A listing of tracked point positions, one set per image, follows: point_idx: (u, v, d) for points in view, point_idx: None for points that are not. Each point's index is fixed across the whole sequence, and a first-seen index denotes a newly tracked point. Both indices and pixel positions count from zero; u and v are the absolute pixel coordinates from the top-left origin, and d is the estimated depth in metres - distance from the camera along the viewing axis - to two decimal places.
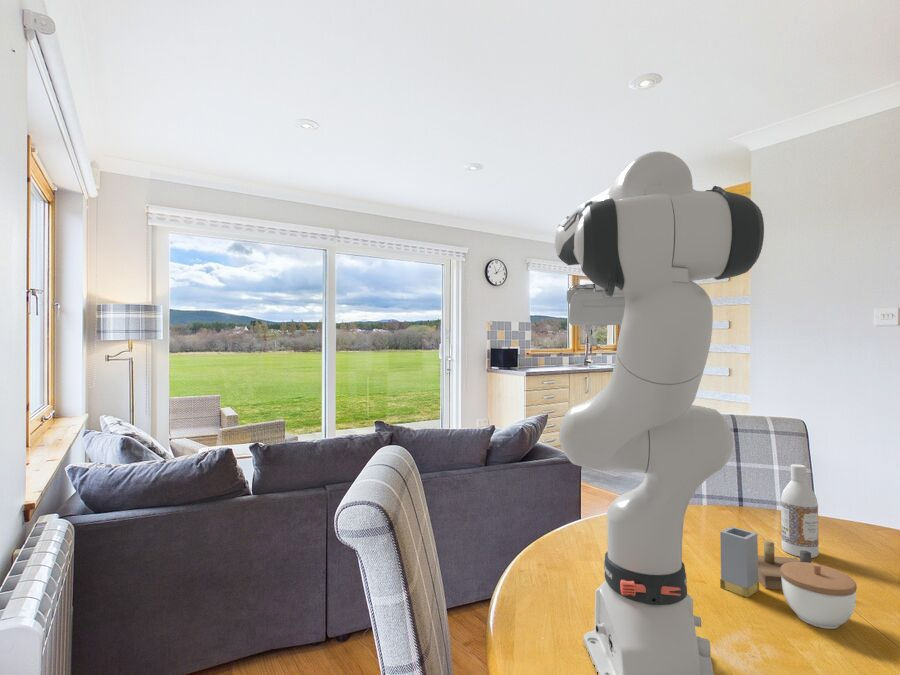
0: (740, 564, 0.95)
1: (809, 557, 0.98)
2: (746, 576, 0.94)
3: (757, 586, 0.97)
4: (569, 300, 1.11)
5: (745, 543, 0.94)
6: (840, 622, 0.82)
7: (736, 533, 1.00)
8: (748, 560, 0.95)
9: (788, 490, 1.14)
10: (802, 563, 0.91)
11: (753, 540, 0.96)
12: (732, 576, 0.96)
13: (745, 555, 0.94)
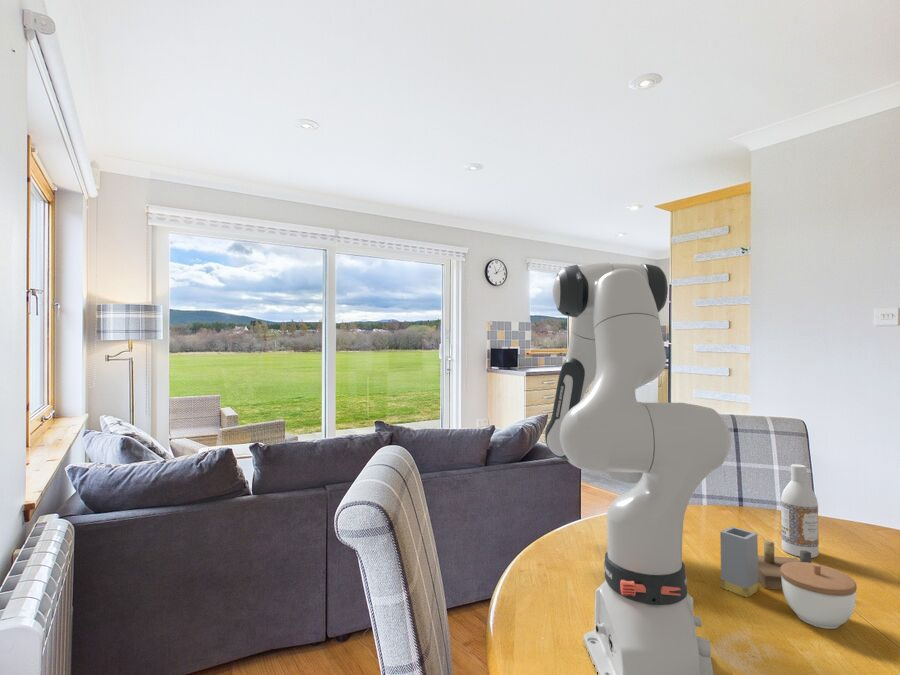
0: (740, 564, 0.95)
1: (809, 557, 0.98)
2: (746, 576, 0.94)
3: (757, 586, 0.97)
4: None
5: (745, 543, 0.94)
6: (840, 622, 0.82)
7: (736, 533, 1.00)
8: (748, 560, 0.95)
9: (788, 490, 1.14)
10: (802, 563, 0.91)
11: (753, 540, 0.96)
12: (732, 576, 0.96)
13: (745, 555, 0.94)
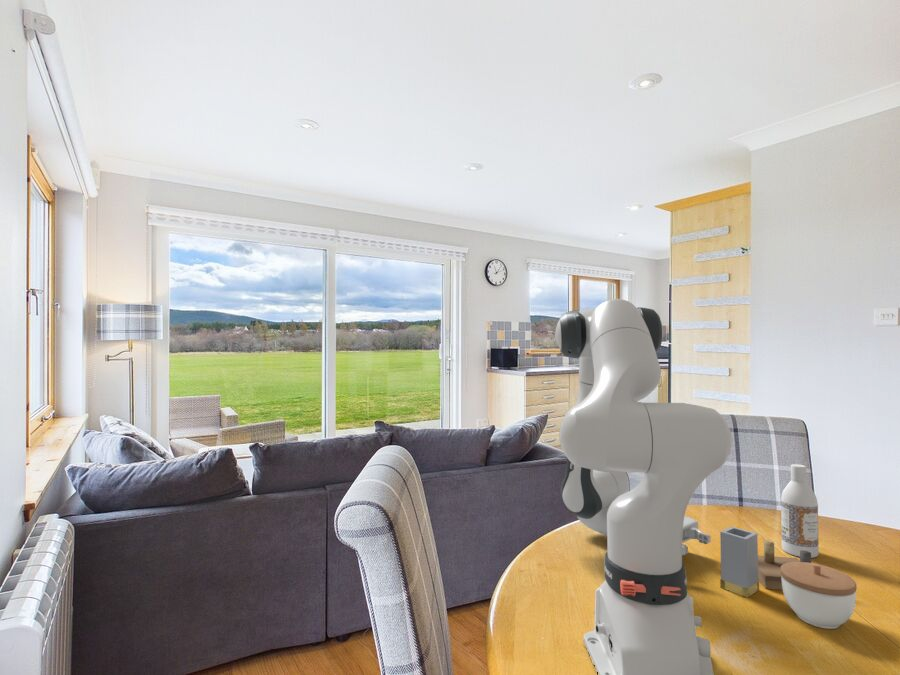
0: (740, 564, 0.95)
1: (809, 557, 0.98)
2: (746, 576, 0.94)
3: (757, 586, 0.97)
4: None
5: (745, 543, 0.94)
6: (840, 622, 0.82)
7: (736, 533, 1.00)
8: (748, 560, 0.95)
9: (788, 490, 1.14)
10: (802, 563, 0.91)
11: (753, 540, 0.96)
12: (732, 576, 0.96)
13: (745, 555, 0.94)
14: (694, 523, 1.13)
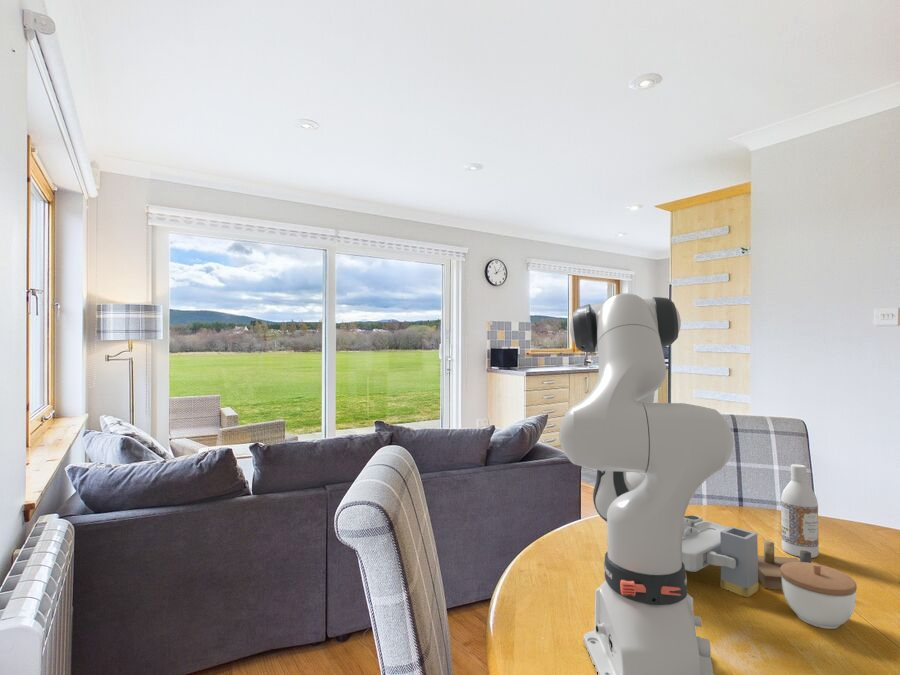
0: (740, 564, 0.95)
1: (809, 557, 0.98)
2: (746, 576, 0.94)
3: (757, 586, 0.97)
4: None
5: (745, 543, 0.94)
6: (840, 622, 0.82)
7: (736, 533, 1.00)
8: (748, 560, 0.95)
9: (788, 490, 1.14)
10: (802, 563, 0.91)
11: (753, 540, 0.96)
12: (732, 576, 0.96)
13: (745, 555, 0.94)
14: None
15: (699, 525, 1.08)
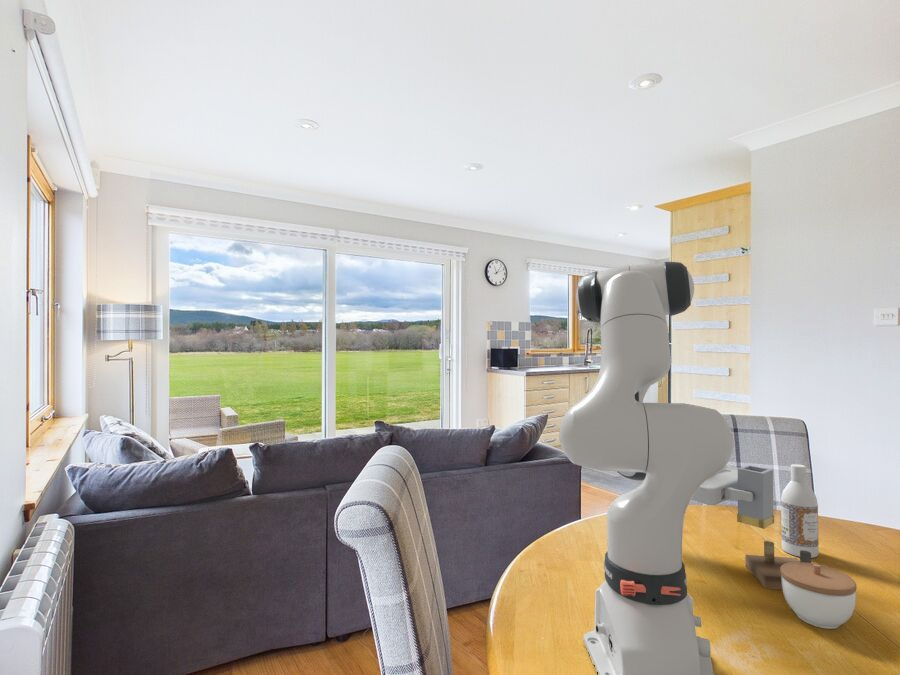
0: (757, 497, 1.00)
1: (809, 557, 0.98)
2: (762, 508, 0.99)
3: (772, 519, 1.01)
4: None
5: (762, 477, 0.99)
6: (840, 622, 0.82)
7: (752, 470, 1.04)
8: (765, 493, 0.99)
9: (788, 490, 1.14)
10: (802, 563, 0.91)
11: (769, 475, 1.01)
12: (749, 510, 1.01)
13: (762, 489, 0.99)
14: None
15: None
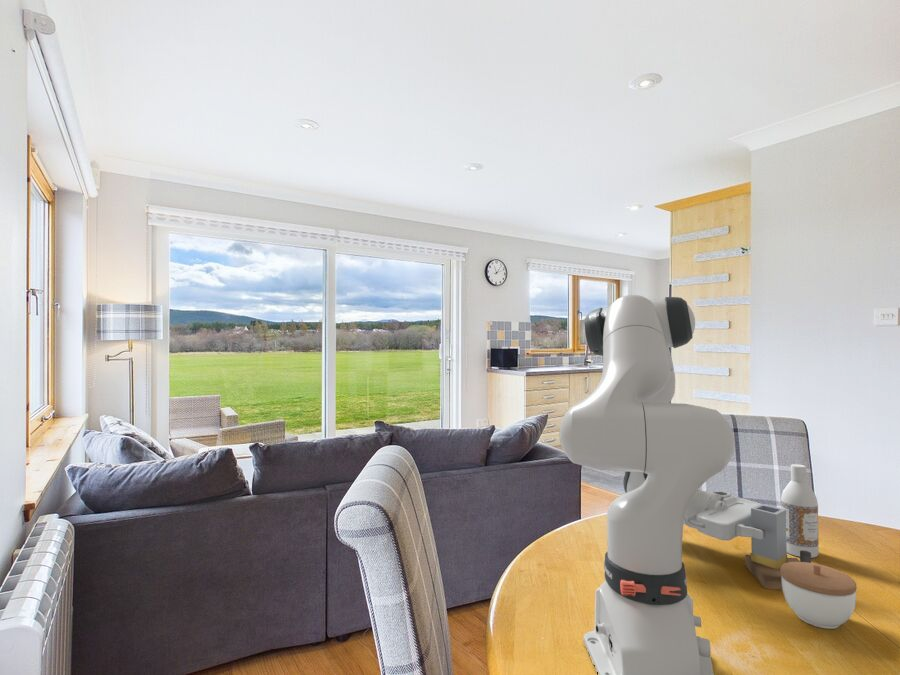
0: (770, 538, 1.01)
1: (809, 557, 0.98)
2: (776, 549, 1.01)
3: (786, 559, 1.03)
4: (700, 523, 1.06)
5: (775, 518, 1.01)
6: (840, 622, 0.82)
7: (765, 510, 1.06)
8: (778, 534, 1.01)
9: (788, 490, 1.14)
10: (802, 563, 0.91)
11: (782, 516, 1.02)
12: (762, 550, 1.03)
13: (775, 529, 1.01)
14: None
15: (728, 500, 1.15)
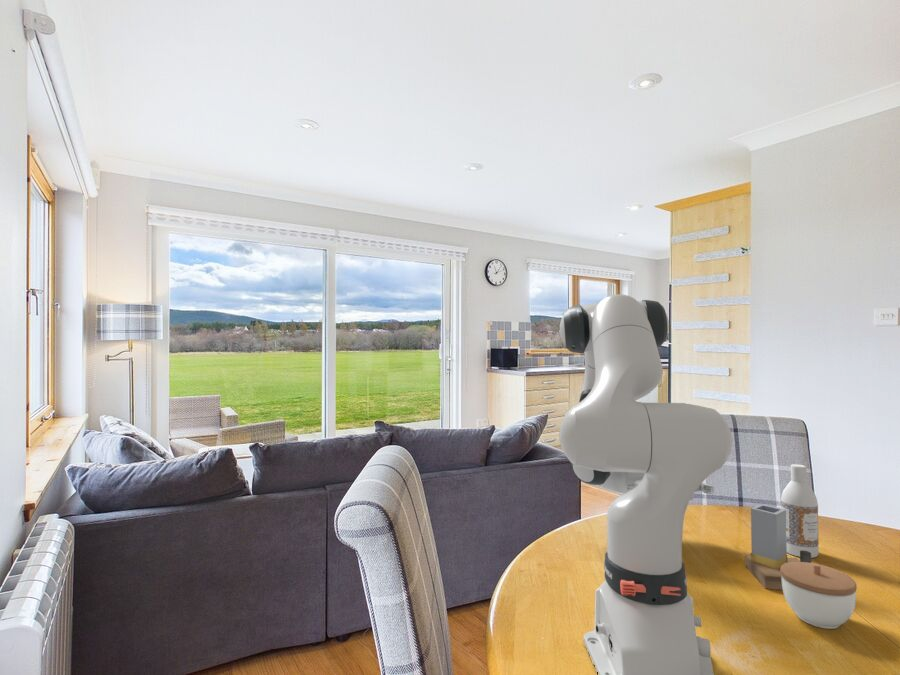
0: (770, 538, 1.01)
1: (809, 557, 0.98)
2: (776, 549, 1.01)
3: (786, 559, 1.03)
4: None
5: (775, 518, 1.01)
6: (840, 622, 0.82)
7: (765, 510, 1.06)
8: (778, 534, 1.01)
9: (788, 490, 1.14)
10: (802, 563, 0.91)
11: (782, 516, 1.02)
12: (762, 550, 1.03)
13: (775, 529, 1.01)
14: None
15: None
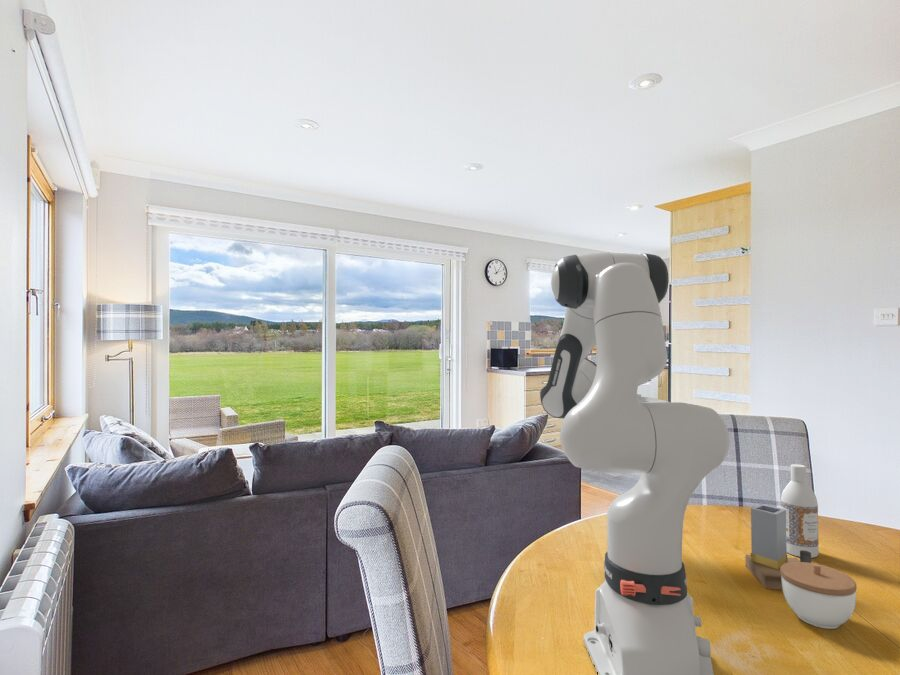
0: (770, 538, 1.01)
1: (809, 557, 0.98)
2: (776, 549, 1.01)
3: (786, 559, 1.03)
4: None
5: (775, 518, 1.01)
6: (840, 622, 0.82)
7: (765, 510, 1.06)
8: (778, 534, 1.01)
9: (788, 490, 1.14)
10: (802, 563, 0.91)
11: (782, 516, 1.02)
12: (762, 550, 1.03)
13: (775, 529, 1.01)
14: (667, 403, 1.23)
15: (637, 398, 1.26)
